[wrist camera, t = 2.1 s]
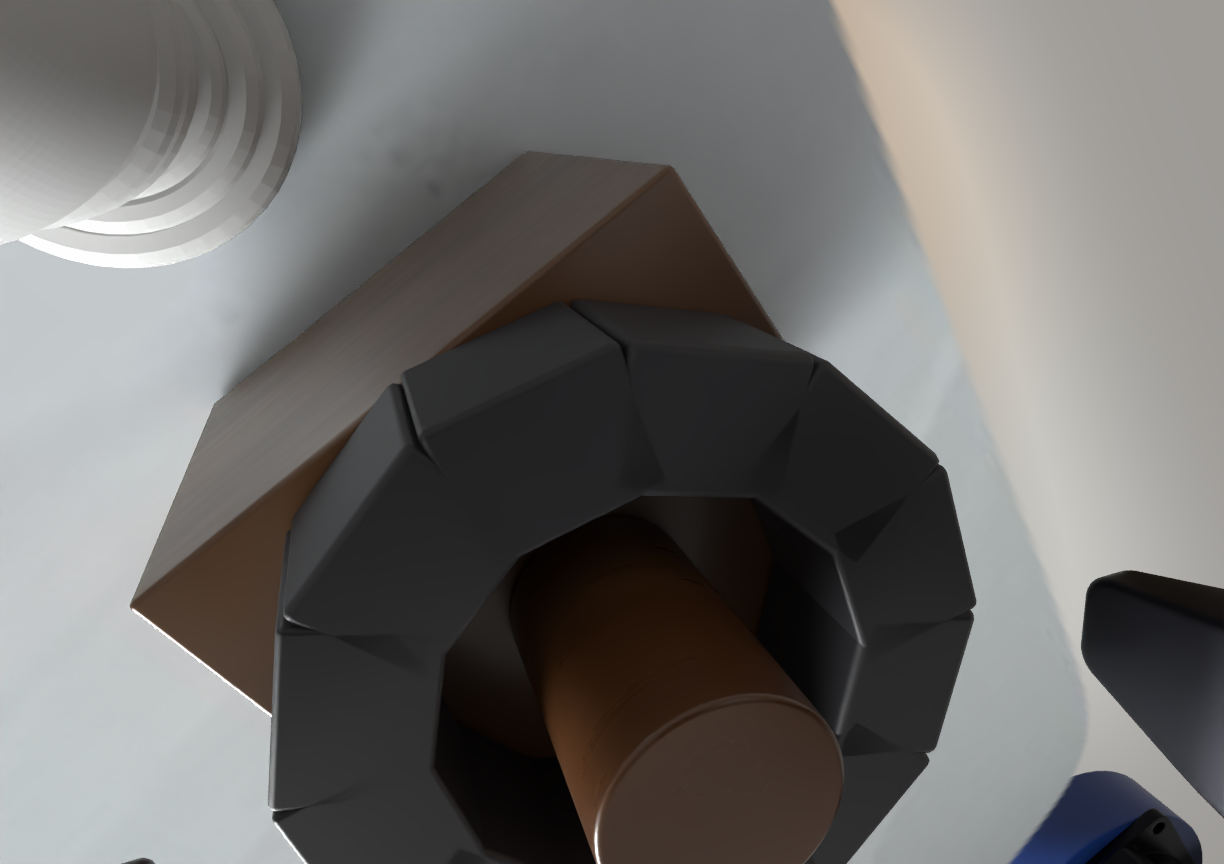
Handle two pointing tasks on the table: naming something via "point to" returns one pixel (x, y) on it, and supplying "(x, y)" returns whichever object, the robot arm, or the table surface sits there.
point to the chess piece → (142, 125)
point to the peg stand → (553, 573)
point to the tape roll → (562, 501)
